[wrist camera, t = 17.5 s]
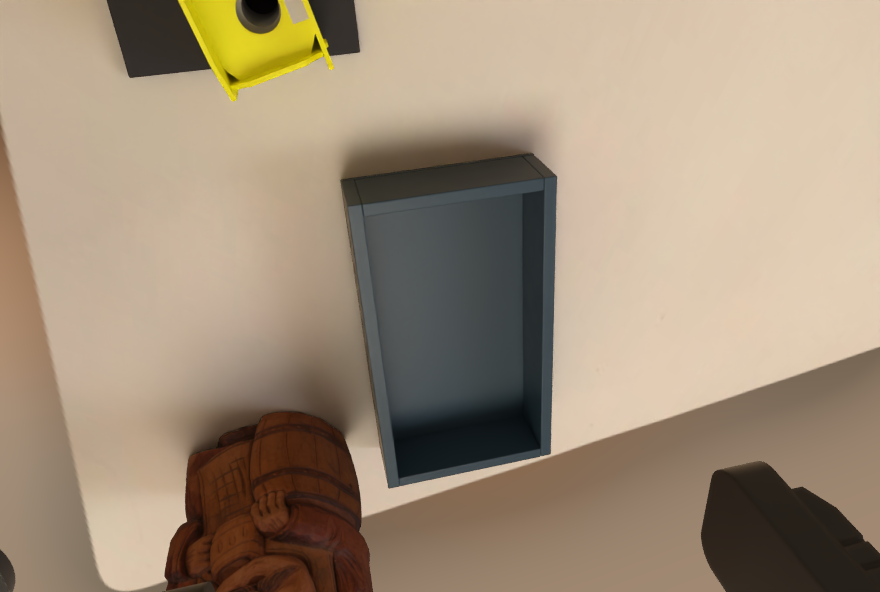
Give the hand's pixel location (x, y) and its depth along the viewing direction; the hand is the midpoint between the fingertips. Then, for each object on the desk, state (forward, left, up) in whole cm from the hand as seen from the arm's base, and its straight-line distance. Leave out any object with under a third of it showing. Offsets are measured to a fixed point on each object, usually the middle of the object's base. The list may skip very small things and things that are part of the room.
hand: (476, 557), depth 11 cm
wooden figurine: (-8, -25, -32) cm, 42 cm away
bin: (+6, -16, -32) cm, 36 cm away
